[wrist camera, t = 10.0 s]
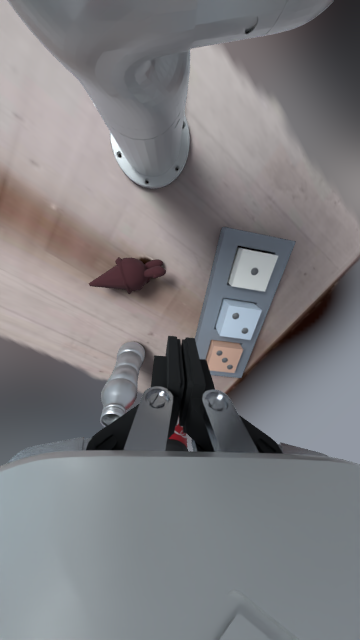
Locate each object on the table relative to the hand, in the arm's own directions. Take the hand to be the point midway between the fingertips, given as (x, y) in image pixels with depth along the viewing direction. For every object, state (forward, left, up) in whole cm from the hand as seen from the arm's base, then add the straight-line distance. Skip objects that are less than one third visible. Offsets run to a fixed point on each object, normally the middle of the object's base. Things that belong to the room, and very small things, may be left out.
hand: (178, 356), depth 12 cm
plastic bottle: (+22, -6, -31) cm, 39 cm away
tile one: (-3, +16, -30) cm, 34 cm away
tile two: (+8, +16, -29) cm, 34 cm away
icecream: (+2, -8, -31) cm, 32 cm away
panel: (+8, +16, -31) cm, 36 cm away
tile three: (+18, +16, -30) cm, 39 cm away
